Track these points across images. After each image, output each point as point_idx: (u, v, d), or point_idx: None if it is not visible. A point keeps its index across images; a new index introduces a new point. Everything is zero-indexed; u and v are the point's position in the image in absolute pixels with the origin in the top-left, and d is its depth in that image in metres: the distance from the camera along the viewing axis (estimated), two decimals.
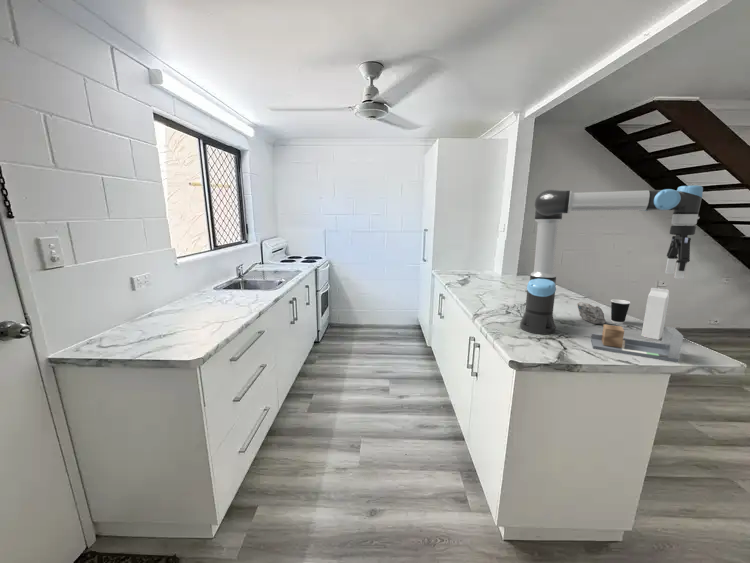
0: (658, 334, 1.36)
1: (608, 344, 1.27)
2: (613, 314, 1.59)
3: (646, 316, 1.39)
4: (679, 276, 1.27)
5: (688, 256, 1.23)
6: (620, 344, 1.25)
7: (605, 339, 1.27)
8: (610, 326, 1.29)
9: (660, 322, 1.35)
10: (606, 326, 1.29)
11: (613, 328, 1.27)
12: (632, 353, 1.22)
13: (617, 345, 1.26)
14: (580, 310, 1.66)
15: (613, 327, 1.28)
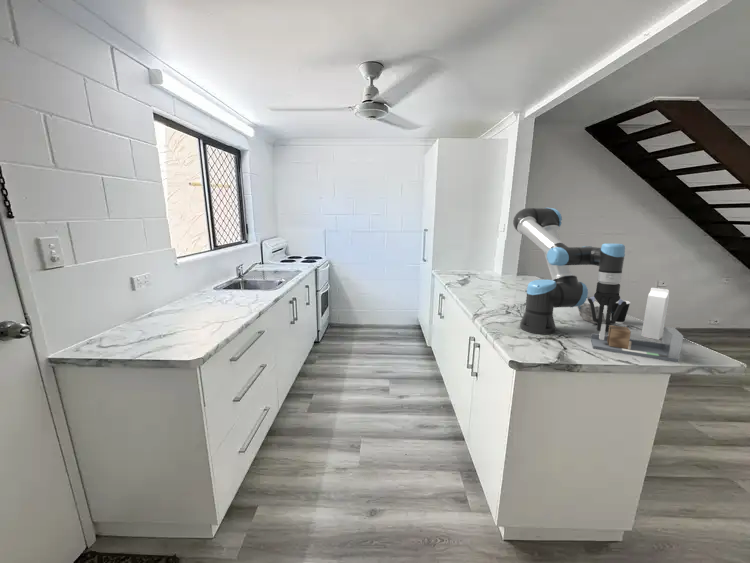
0: (658, 334, 1.36)
1: (614, 345, 1.26)
2: (613, 314, 1.59)
3: (646, 316, 1.39)
4: (599, 336, 1.30)
5: (592, 316, 1.30)
6: (626, 345, 1.24)
7: (611, 340, 1.26)
8: (616, 327, 1.28)
9: (660, 322, 1.35)
10: (612, 327, 1.28)
11: (619, 329, 1.26)
12: (632, 353, 1.22)
13: (623, 346, 1.25)
14: (580, 310, 1.66)
15: (619, 328, 1.27)
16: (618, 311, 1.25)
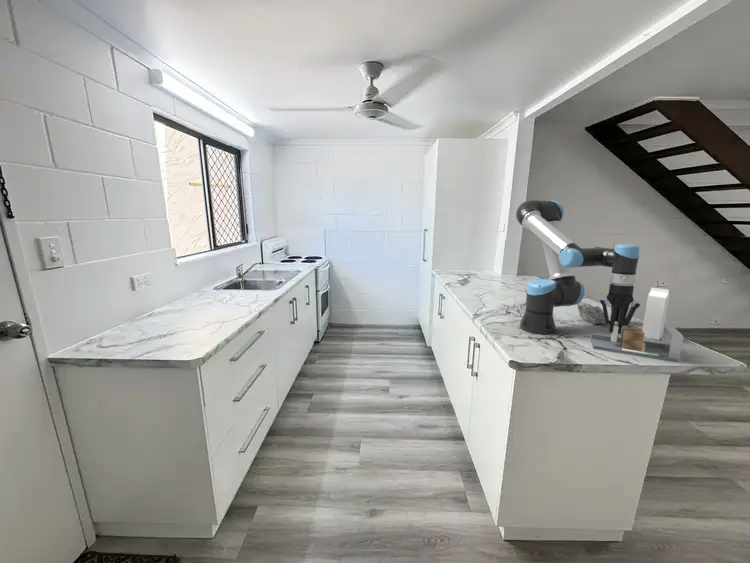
0: (658, 334, 1.36)
1: (627, 347, 1.24)
2: None
3: (646, 316, 1.39)
4: (611, 338, 1.29)
5: (604, 318, 1.28)
6: (640, 347, 1.22)
7: (624, 342, 1.24)
8: (629, 328, 1.26)
9: (660, 322, 1.35)
10: (625, 328, 1.26)
11: (632, 331, 1.24)
12: (632, 353, 1.22)
13: (637, 348, 1.23)
14: (580, 310, 1.66)
15: (632, 329, 1.25)
16: (631, 313, 1.23)
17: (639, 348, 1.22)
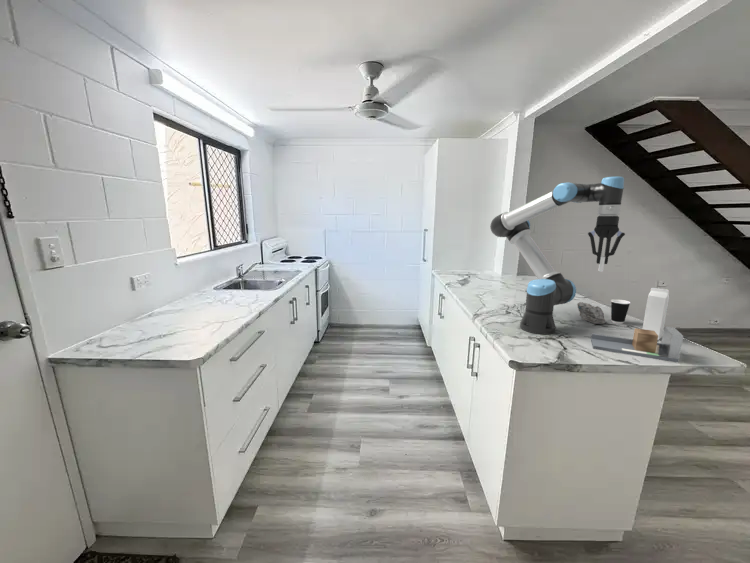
0: (658, 334, 1.36)
1: (640, 349, 1.22)
2: (613, 314, 1.59)
3: (646, 316, 1.39)
4: (598, 269, 1.37)
5: (592, 250, 1.36)
6: (653, 349, 1.20)
7: (637, 344, 1.22)
8: (642, 330, 1.24)
9: (660, 322, 1.35)
10: (638, 330, 1.24)
11: (645, 333, 1.22)
12: (632, 353, 1.22)
13: (650, 350, 1.21)
14: (580, 310, 1.66)
15: (645, 331, 1.23)
16: (617, 242, 1.31)
17: (652, 350, 1.20)
